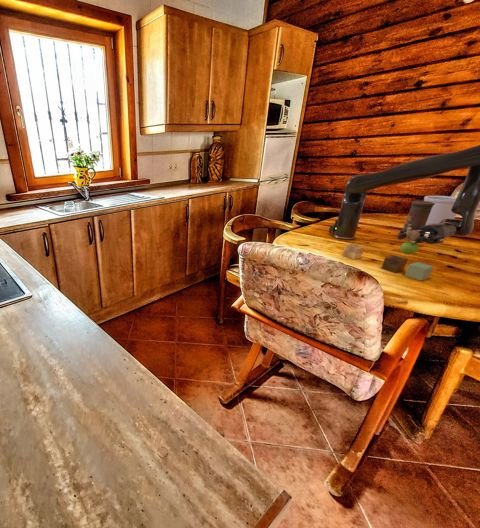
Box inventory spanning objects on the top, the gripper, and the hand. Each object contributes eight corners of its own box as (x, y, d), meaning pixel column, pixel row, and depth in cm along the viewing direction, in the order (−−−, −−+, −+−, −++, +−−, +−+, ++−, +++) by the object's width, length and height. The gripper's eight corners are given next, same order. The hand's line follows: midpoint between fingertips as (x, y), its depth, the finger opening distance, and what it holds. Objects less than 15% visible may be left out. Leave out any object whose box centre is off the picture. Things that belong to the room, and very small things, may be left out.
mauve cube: (342, 255, 129) (345, 245, 127) (349, 254, 131) (352, 244, 129) (353, 259, 125) (356, 249, 123) (361, 257, 127) (364, 247, 125)
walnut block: (381, 268, 115) (385, 257, 113) (389, 266, 117) (393, 255, 115) (395, 272, 111) (399, 261, 109) (403, 270, 113) (407, 259, 111)
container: (420, 234, 151) (432, 201, 144) (424, 238, 144) (438, 204, 137) (398, 232, 156) (409, 200, 149) (401, 236, 149) (413, 203, 142)
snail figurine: (406, 250, 120) (416, 224, 116) (419, 256, 114) (430, 228, 110) (393, 251, 121) (402, 224, 116) (405, 256, 115) (415, 228, 110)
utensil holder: (427, 224, 167) (438, 194, 160) (458, 230, 153) (472, 198, 146) (406, 226, 165) (417, 196, 158) (436, 233, 151) (449, 201, 144)
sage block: (404, 275, 109) (409, 264, 107) (412, 273, 110) (417, 261, 108) (420, 280, 104) (425, 268, 102) (428, 278, 106) (433, 266, 104)
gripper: (415, 220, 124) (390, 225, 119) (459, 228, 111) (434, 235, 106) (409, 236, 127) (385, 242, 122) (451, 246, 114) (426, 253, 109)
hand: (408, 238), depth 114 cm, fingers closed on snail figurine, 5 cm apart
